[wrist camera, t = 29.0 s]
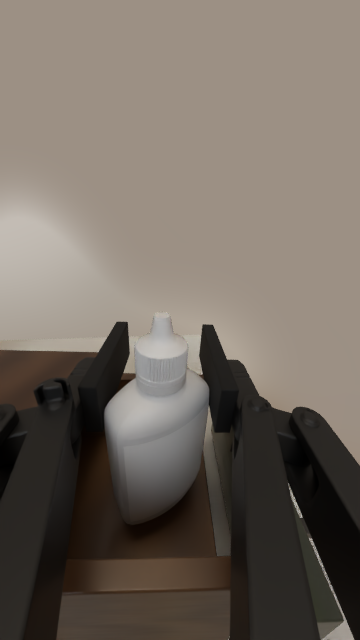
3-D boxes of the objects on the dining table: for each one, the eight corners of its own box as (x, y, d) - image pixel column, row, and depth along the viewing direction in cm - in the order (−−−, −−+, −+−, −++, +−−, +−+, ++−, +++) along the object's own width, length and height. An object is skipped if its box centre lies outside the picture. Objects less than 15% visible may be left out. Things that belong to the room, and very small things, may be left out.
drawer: (286, 430, 21) (310, 369, 18) (418, 665, 10) (546, 613, 7) (77, 429, 20) (62, 364, 17) (-47, 688, 9) (-165, 640, 6)
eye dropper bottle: (208, 518, 12) (246, 340, 7) (109, 531, 11) (73, 342, 6) (195, 445, 16) (213, 299, 11) (121, 451, 15) (104, 298, 10)
